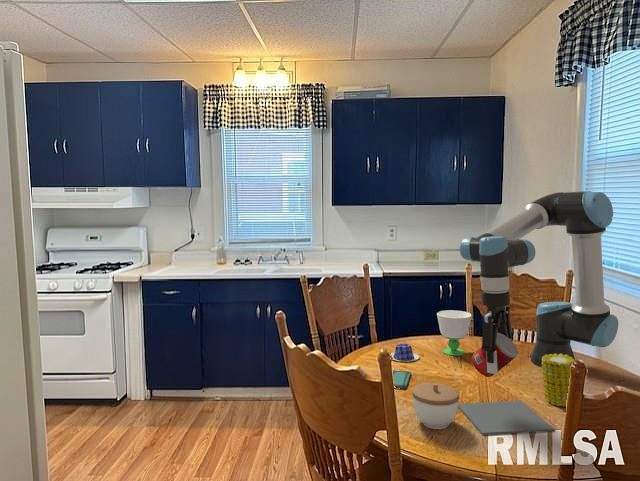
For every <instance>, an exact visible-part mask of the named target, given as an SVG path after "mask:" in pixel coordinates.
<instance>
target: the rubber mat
mask: <svg viewBox="0 0 640 481" xmlns="http://www.w3.org/2000/svg"><path fill="white" fill-rule="evenodd" d="M458 410H459V411H460V412H461V413H462V414H463V415H464V416H465V418H466V419H467V420H468V421H469V422H470V423H471V424H472V425H473V426H474V427H475V428H476V430H477V431H478V432H479V433H480V434H481V435H482V436H490V435H491V436H492V435H509V434H510V435H511V434H526V433H542V432H543V433H544V432H545V433H546V432H555V431H556V429H555V427H553V426H552V425H551V424H550V423H549V422H547V421H546V420H545V419H543V418H542V417H541V416H540V415H539V414H537V413H536V412H535V411H534V410H533V409H531V408H530V407H529V406H527V405H526V404H525V403H524V402H523V401H522V400H509V401H508V400H504V401H489V402H488V401H485V402H466V403H458Z"/></svg>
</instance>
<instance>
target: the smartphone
mask: <svg viewBox="0 0 640 481" xmlns="http://www.w3.org/2000/svg"><path fill="white" fill-rule="evenodd" d="M393 377H394V386H395V387H396V388H400V389H399V390H401V389H406V388H408V386H407V385H409V383H410V381H411V377H412V372H411V371H404V370H395V369H393ZM406 390H407V389H406Z"/></svg>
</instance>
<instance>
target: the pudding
mask: <svg viewBox="0 0 640 481" xmlns="http://www.w3.org/2000/svg"><path fill="white" fill-rule="evenodd" d="M391 355H392V357H393V359H392V360H394V361H397V362H400V361H401V362H414V361H417V360H419V359H420V356H419V355H418V354H416V353H414V352H413V348H412V346H411V344H409V343H397V344H396V346H395V349H394V351H393V352H391Z"/></svg>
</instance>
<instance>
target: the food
mask: <svg viewBox="0 0 640 481" xmlns="http://www.w3.org/2000/svg"><path fill="white" fill-rule="evenodd" d="M574 362H575V363H577V362H576V359H575V360H574V359H573V358H572V357H569V355H566V354H565V355H563V354H553V355H552V354H549V355H545V356H543V357H542V366H541V369H542V380H543V381H542V383H543V389H544V399H545V400H546V402H548V403H551V405H552V406H555V405H556V406H557V407H564V408H566V400H567V393H568V386H569V378H570V366H571V364H572V363H574Z"/></svg>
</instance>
